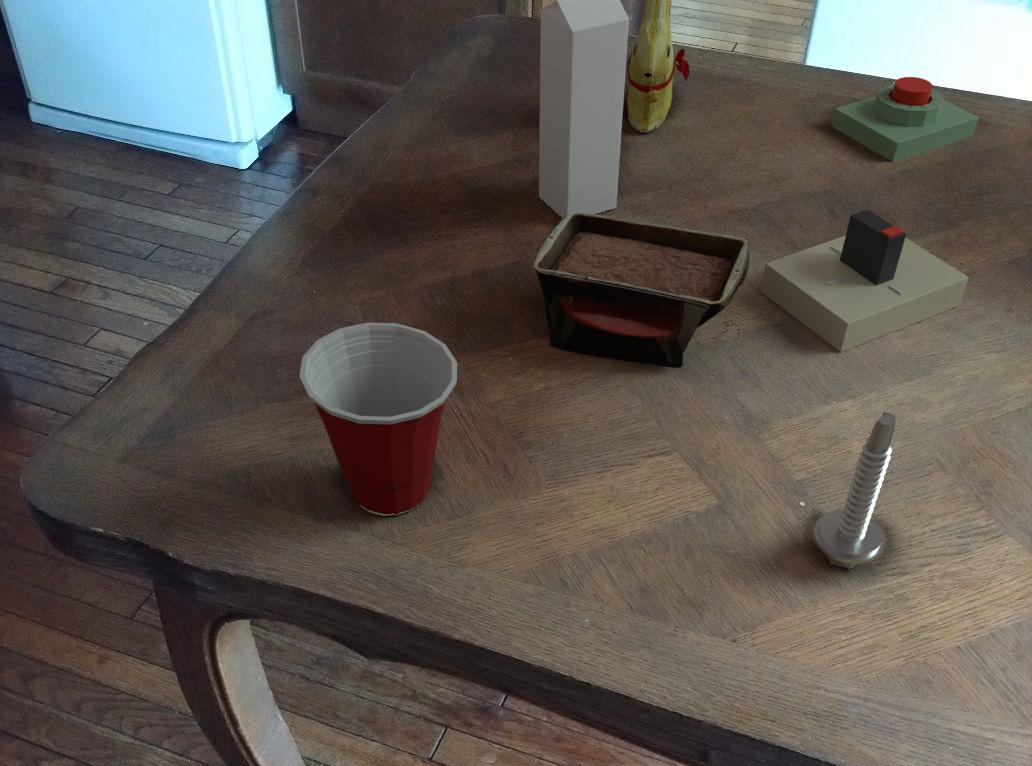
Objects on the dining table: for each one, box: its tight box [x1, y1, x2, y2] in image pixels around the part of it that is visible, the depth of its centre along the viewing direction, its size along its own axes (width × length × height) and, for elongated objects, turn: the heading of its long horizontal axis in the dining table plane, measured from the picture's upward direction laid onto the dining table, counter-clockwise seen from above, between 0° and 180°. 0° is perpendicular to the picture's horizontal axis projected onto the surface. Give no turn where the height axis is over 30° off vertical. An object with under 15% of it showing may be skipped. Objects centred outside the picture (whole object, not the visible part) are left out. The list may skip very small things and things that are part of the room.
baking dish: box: [532, 212, 751, 369], centre depth 92 cm, size 14×18×10 cm
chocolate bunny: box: [626, 0, 690, 131], centre depth 118 cm, size 7×11×15 cm, turn 168°
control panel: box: [760, 235, 970, 353], centre depth 96 cm, size 14×11×3 cm
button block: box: [830, 83, 980, 163], centre depth 119 cm, size 12×10×4 cm
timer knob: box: [840, 209, 907, 285], centre depth 93 cm, size 5×2×5 cm, turn 29°
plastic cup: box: [299, 322, 458, 514], centre depth 77 cm, size 11×11×12 cm
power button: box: [891, 76, 933, 106], centre depth 117 cm, size 4×4×2 cm
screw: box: [812, 411, 896, 570], centre depth 71 cm, size 13×5×5 cm
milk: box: [538, 0, 630, 219], centre depth 102 cm, size 6×6×22 cm
